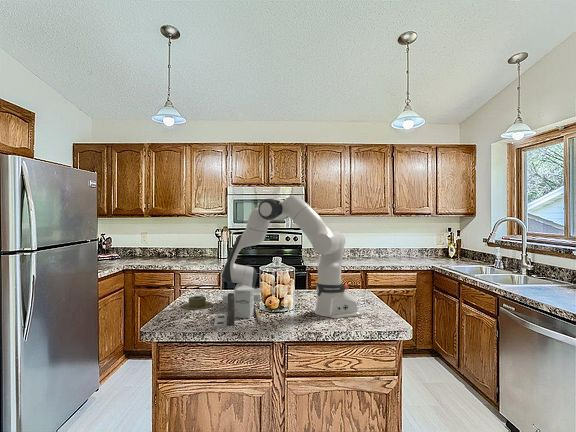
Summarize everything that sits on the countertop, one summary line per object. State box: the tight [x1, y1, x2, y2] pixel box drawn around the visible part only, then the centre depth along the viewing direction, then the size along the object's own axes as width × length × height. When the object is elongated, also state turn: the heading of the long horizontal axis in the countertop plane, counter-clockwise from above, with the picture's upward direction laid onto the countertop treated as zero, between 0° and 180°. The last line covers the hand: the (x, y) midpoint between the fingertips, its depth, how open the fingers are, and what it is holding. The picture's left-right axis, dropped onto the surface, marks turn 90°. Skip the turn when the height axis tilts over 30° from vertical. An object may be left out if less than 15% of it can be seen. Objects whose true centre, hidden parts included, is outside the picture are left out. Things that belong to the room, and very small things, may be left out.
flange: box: [181, 295, 213, 311], centre depth 183 cm, size 5×15×15 cm
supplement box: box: [234, 287, 255, 319], centre depth 164 cm, size 7×7×13 cm
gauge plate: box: [213, 314, 228, 329], centre depth 155 cm, size 5×16×1 cm, turn 9°
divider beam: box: [227, 292, 262, 327], centre depth 161 cm, size 14×21×13 cm, turn 9°
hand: (244, 301), depth 168 cm, fingers closed
